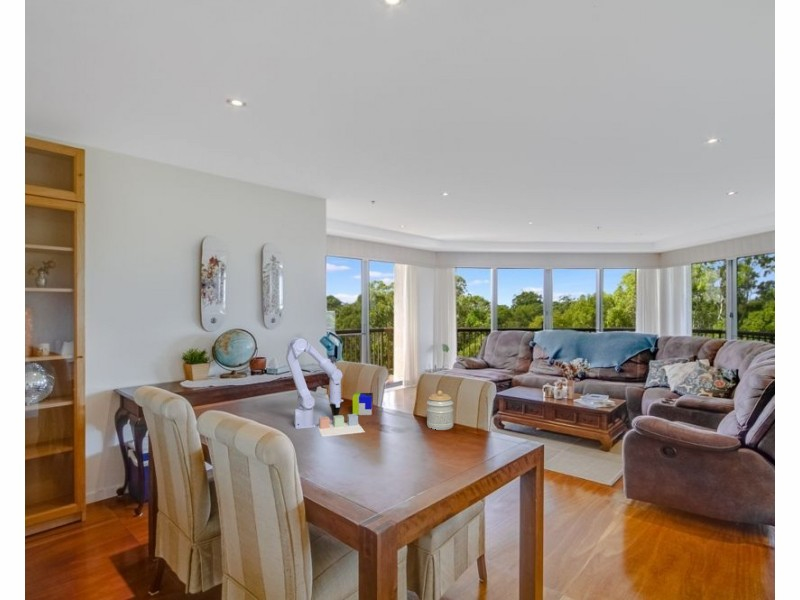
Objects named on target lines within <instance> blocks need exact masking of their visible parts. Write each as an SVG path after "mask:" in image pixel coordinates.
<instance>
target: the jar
mask: <svg viewBox="0 0 800 600" xmlns="http://www.w3.org/2000/svg"><path fill="white" fill-rule="evenodd" d="M426 405H427V407H426V413H427V414H426V417H427V418H426V425H427V428H429V429H431V428H432V429H431V430H435V429H436V430H437V431H446V430H450V429H452V428H453V427H454V408H453V405H454V402H453V400H452V397H451V396H450V395H449V394H448V393H443V391H442V390H438V391H437V392H436V393H433V394H431V395H429V396H428V400H427V401H426Z"/></svg>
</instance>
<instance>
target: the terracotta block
mask: <svg viewBox="0 0 800 600" xmlns="http://www.w3.org/2000/svg"><path fill="white" fill-rule="evenodd" d="M330 420H331V419H330V417H329V416H328V415H327V416H319V417H318V425H319V427H320V429H326V428H330V424H331V423H330V422H331V421H330Z"/></svg>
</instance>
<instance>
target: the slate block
mask: <svg viewBox="0 0 800 600" xmlns="http://www.w3.org/2000/svg"><path fill="white" fill-rule="evenodd" d="M346 416H347V417H346V421H347V422H346V423H347V424H348V425H349V426H355V425H358V424H359V415H357V414H353V413H350V414H349V413H348V414H347V415H346Z"/></svg>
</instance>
